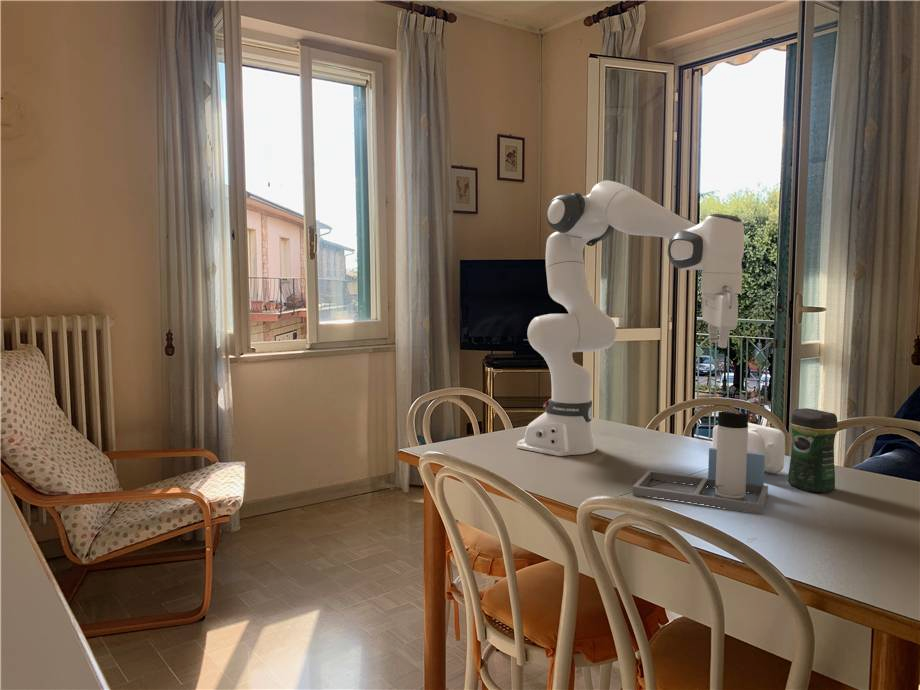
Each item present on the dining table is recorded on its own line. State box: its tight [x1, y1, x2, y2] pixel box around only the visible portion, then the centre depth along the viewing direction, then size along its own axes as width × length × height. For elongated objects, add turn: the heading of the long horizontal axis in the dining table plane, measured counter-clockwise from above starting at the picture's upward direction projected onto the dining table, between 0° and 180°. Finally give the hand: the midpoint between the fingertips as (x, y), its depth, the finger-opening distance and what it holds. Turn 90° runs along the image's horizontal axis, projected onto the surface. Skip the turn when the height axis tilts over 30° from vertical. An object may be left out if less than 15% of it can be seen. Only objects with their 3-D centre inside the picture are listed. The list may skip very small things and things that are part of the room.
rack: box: [632, 447, 769, 515], centre depth 157 cm, size 27×16×9 cm, turn 62°
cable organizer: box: [711, 422, 786, 474], centre depth 176 cm, size 15×11×12 cm
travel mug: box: [714, 411, 749, 501], centre depth 153 cm, size 6×7×20 cm
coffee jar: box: [787, 407, 839, 493], centre depth 161 cm, size 10×8×19 cm
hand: (717, 344), depth 161 cm, fingers open, 8 cm apart
